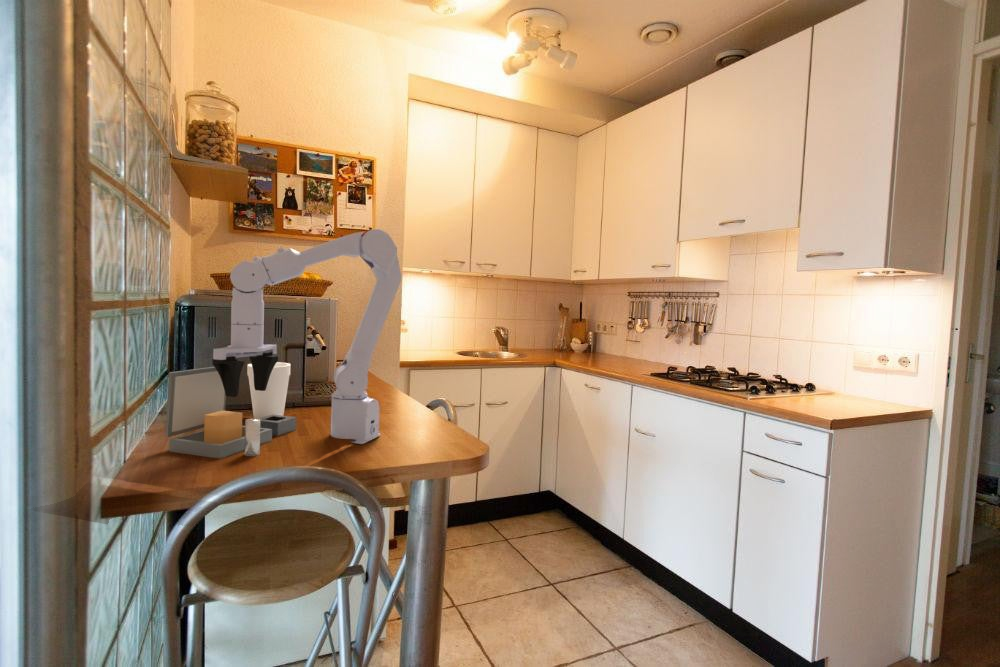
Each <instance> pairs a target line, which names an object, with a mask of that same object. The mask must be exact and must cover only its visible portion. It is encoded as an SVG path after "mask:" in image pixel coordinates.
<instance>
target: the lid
mask: <svg viewBox="0 0 1000 667" xmlns="http://www.w3.org/2000/svg"><path fill="white" fill-rule="evenodd" d="M226 401H227V396H226V394H225V391H224V387H223V383H222V380H221V378H220V375H219V373H218V372H217V370H216V368H215V367H214V366H209V367H202V368H200V367H199V368H193V369H185V370H176V371H170V372H168V383H167V401H166V402H167V403H166V416H165V430H164V431H165V433H164V434H165V435H164V437H165V438H170V437H171V438H172V437H173V436H177V435H178V436H179V435H182V434H185V433H186V434H187V433H188V432H189V433H190V432H194V431H196V430H200V429H204V417H205V415H207V414H211V413H215V412H219V411H226V405H227V404H226Z"/></svg>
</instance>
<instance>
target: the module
mask: <svg viewBox="0 0 1000 667" xmlns="http://www.w3.org/2000/svg"><path fill="white" fill-rule="evenodd" d="M242 426H243V412H238V411H230V410H225V411H219V412H215V413H211V414H207V415H205V417H204V428H203V430H204V442H208V443H216V444H223V443H226V442H229V441H232V440H235V439H238V438H241V437H242Z"/></svg>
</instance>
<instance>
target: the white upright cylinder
mask: <svg viewBox="0 0 1000 667" xmlns="http://www.w3.org/2000/svg"><path fill="white" fill-rule="evenodd" d="M244 421H245V422H244V426H245V450H244V456H245V457H256V456H258V455H260V454H261V453H260V449H261V448H260V447H261V444H260V419H256V418H254V417H253V418H248V419H247V418H246V419H245V420H244Z"/></svg>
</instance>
